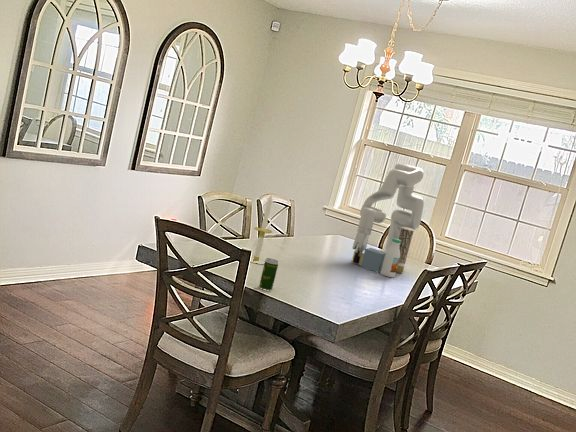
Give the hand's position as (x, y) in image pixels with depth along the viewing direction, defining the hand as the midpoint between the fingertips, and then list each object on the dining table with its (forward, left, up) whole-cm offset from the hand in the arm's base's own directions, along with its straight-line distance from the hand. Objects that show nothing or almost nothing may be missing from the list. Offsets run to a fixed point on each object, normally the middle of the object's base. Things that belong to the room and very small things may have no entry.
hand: (356, 262), depth 370 cm
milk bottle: (+5, +20, -1) cm, 21 cm away
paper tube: (-14, +20, -1) cm, 24 cm away
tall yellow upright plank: (0, +3, 0) cm, 4 cm away
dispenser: (0, +9, -1) cm, 10 cm away
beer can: (+113, +2, -1) cm, 113 cm away
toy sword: (+73, -24, -1) cm, 77 cm away
